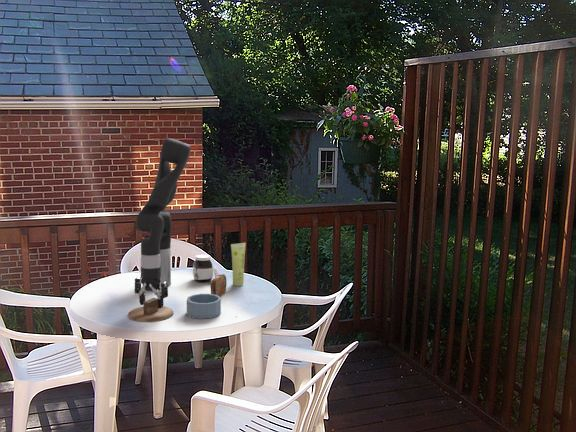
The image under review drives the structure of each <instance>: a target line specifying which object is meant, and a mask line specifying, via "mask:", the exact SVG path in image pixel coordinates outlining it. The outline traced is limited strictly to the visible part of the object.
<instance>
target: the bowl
mask: <svg viewBox="0 0 576 432" xmlns="http://www.w3.org/2000/svg"><path fill="white" fill-rule="evenodd" d="M221 311H222V296H221V297H219V296H218V295H214V294H211V293H197V294H192V295H190V296H188V297H186V314H187V316H188V317H190V318H192V319H197V320H209V319H210V320H211V319H214V318H217V317H219V316H220V315H221Z"/></svg>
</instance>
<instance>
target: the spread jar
mask: <svg viewBox="0 0 576 432" xmlns="http://www.w3.org/2000/svg"><path fill="white" fill-rule="evenodd" d="M192 273H193V274H192V276H193V279H194V281H195V282H197V283H209V282H210V281H212V280H213V275H214V278H215V277H216V276H217V275H220V274H219V272H218V269H217V267H216V266H213V263H212V261H211V255H210V254H209V255H208V254H197V255H195V260H194V261H193V265H192Z"/></svg>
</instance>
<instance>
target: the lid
mask: <svg viewBox="0 0 576 432" xmlns="http://www.w3.org/2000/svg"><path fill="white" fill-rule="evenodd" d="M127 316H128V318H129V319H130V320H132V321H136V322H140V323H142V322H143V323H154V322H160V321H164V320H167V319H170V318H172V316H174V310H173V309H172V308H170V307H168V306H164V305H163V307H162V308H160V309H159V308H158V298H157V297H150V298H149V299H146V300H145V301H144V302H143V305H142V306H139V307H135V308H133V309H130V310H129V312H128V314H127Z"/></svg>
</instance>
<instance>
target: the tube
mask: <svg viewBox="0 0 576 432" xmlns="http://www.w3.org/2000/svg"><path fill="white" fill-rule="evenodd" d="M246 245H247V243H246V242H241V243H239V242H238V243H231V244H230V250H231V265H232V285H233V286H235V287H239V286H240V287H241V286H244V283H245V282H244V280H245V278H244V277H245V258H246V257H245V256H246V255H245V254H246Z"/></svg>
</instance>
